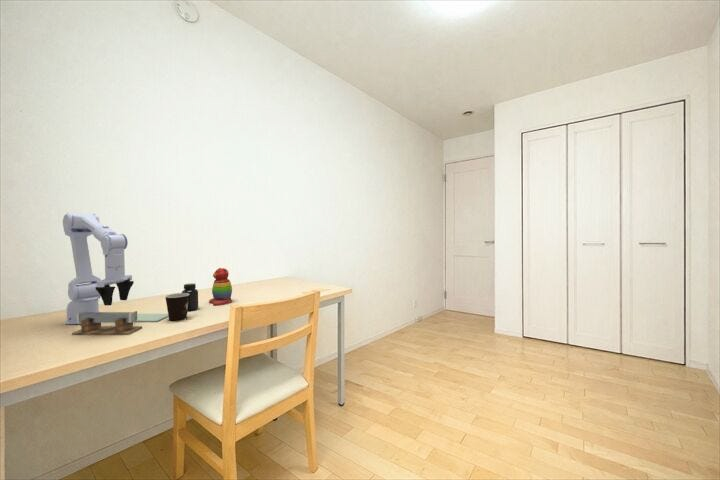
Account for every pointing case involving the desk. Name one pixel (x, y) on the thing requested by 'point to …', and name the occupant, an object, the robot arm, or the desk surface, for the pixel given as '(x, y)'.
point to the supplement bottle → (191, 296)
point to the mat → (150, 317)
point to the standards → (106, 328)
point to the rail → (107, 317)
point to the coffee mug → (177, 306)
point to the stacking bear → (221, 288)
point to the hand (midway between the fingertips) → (116, 302)
